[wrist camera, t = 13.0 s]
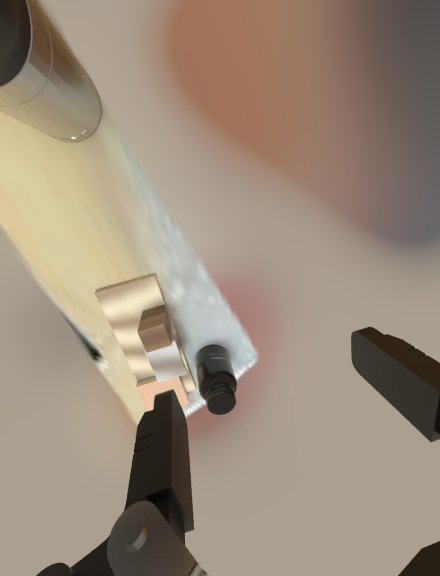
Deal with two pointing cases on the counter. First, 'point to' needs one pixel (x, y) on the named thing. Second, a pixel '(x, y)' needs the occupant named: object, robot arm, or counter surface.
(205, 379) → the supplement bottle
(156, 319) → the brown block
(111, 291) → the board
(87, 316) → the counter surface
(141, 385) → the tile
